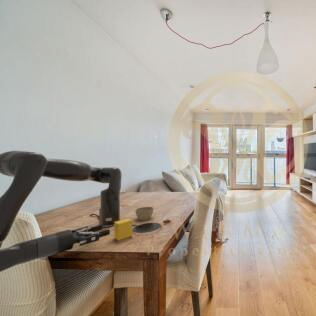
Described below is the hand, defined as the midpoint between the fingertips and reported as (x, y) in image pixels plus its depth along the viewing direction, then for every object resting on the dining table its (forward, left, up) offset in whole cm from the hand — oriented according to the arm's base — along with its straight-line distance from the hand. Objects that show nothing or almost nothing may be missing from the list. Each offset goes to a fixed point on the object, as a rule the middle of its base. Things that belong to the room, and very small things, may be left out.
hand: (105, 229), depth 80 cm
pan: (+1, +20, -7) cm, 21 cm away
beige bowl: (-8, +31, -8) cm, 32 cm away
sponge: (+2, +7, -7) cm, 10 cm away
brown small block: (+9, +30, -7) cm, 32 cm away
